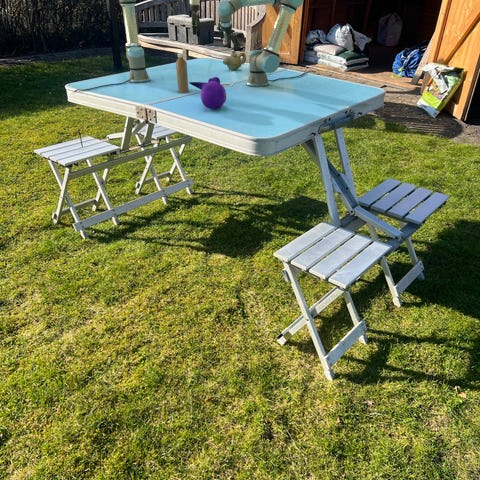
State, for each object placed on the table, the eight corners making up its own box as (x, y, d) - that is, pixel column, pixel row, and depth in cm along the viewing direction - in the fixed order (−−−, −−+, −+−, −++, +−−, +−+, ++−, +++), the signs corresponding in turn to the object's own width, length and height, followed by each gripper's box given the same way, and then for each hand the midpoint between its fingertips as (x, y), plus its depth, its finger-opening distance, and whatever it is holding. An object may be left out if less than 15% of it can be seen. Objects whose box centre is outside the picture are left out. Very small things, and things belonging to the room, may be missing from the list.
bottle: (190, 91, 306) (188, 54, 294) (183, 93, 301) (180, 55, 289) (183, 90, 310) (180, 53, 298) (176, 92, 305) (172, 54, 293)
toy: (213, 100, 281) (226, 115, 260) (186, 95, 274) (197, 111, 253) (219, 74, 273) (233, 88, 252) (191, 69, 266) (203, 83, 245)
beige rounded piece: (226, 72, 363) (226, 52, 355) (220, 70, 372) (219, 50, 364) (249, 69, 372) (249, 50, 365) (242, 67, 381) (241, 48, 373)
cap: (185, 56, 294) (184, 53, 293) (180, 57, 292) (180, 54, 291) (180, 56, 296) (180, 53, 295) (176, 57, 294) (176, 53, 293)
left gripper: (203, 5, 329) (204, 36, 339) (195, 3, 349) (197, 33, 360) (193, 5, 327) (195, 37, 338) (186, 4, 347) (188, 34, 358)
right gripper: (208, 14, 286) (212, 36, 307) (235, 38, 281) (237, 59, 302) (217, 7, 287) (221, 29, 307) (243, 31, 282) (245, 52, 302)
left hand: (196, 35), depth 349 cm, fingers open, 13 cm apart
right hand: (229, 44), depth 305 cm, fingers open, 13 cm apart
